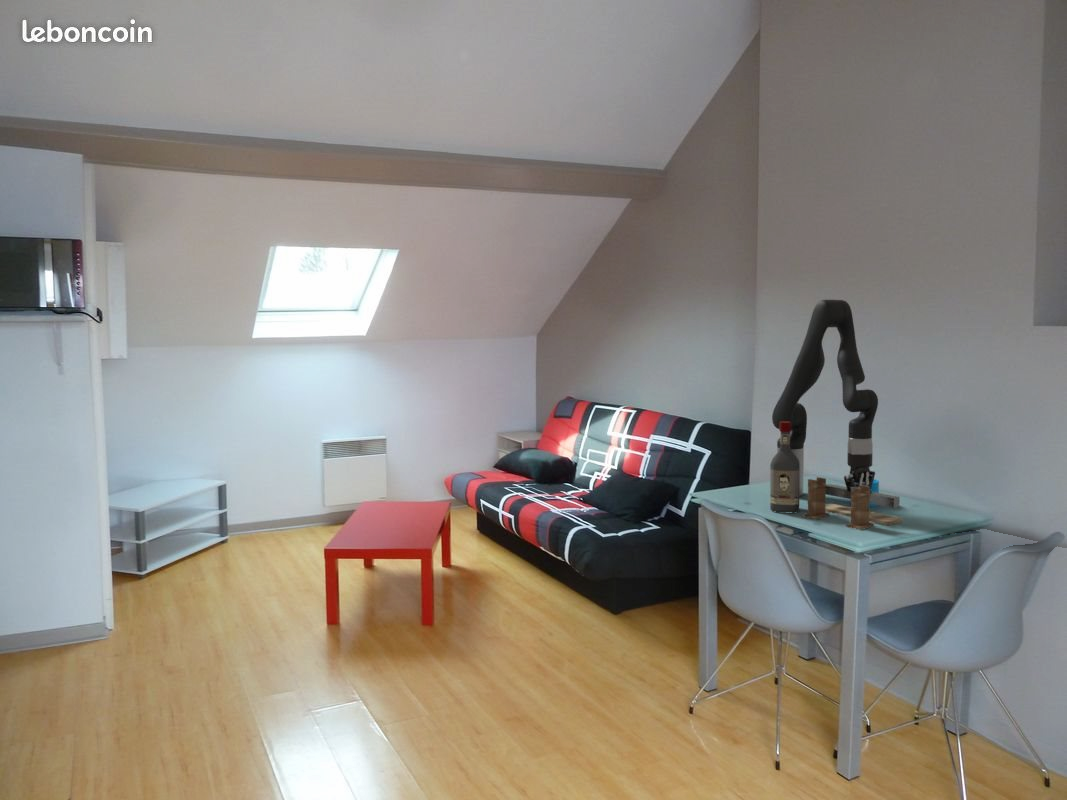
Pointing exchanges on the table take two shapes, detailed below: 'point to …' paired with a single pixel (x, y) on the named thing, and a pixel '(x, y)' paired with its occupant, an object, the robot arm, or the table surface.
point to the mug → (873, 489)
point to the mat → (872, 516)
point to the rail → (874, 497)
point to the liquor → (784, 475)
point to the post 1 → (816, 498)
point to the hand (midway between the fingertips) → (859, 503)
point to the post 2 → (860, 507)
